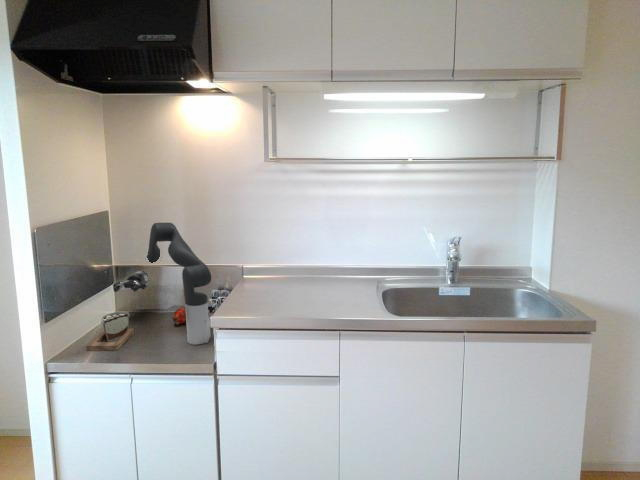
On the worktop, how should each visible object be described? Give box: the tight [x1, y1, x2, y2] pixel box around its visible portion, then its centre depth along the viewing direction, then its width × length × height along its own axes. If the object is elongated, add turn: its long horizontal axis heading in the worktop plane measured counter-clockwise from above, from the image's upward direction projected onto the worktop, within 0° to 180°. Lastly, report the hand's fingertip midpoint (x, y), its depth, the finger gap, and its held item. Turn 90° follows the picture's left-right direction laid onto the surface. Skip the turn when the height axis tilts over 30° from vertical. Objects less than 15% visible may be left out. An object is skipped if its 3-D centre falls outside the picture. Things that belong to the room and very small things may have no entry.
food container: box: [100, 311, 131, 342], centre depth 194 cm, size 12×6×10 cm, turn 145°
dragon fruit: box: [172, 306, 186, 326], centre depth 209 cm, size 8×8×12 cm
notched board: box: [85, 328, 135, 352], centre depth 189 cm, size 12×18×2 cm
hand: (124, 289), depth 201 cm, fingers open, 8 cm apart
